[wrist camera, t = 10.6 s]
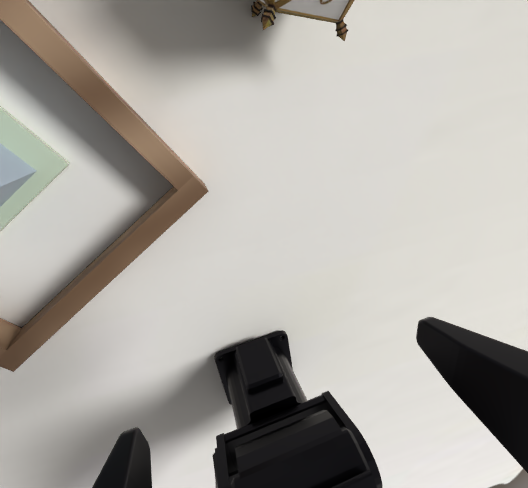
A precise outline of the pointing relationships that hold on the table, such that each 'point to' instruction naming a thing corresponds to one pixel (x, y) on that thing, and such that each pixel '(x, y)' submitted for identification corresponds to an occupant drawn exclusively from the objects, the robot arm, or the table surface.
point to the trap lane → (139, 137)
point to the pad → (34, 154)
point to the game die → (305, 11)
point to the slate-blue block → (12, 173)
